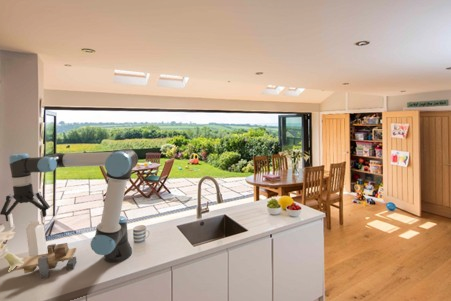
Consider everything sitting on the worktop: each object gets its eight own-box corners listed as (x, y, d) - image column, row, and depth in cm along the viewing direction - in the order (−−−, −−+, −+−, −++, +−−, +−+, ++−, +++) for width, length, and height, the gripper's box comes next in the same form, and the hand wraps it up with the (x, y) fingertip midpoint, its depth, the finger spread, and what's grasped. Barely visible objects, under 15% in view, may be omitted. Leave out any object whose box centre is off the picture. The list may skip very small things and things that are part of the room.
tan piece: (77, 256, 141) (75, 241, 140) (72, 267, 131) (70, 251, 130) (27, 266, 134) (24, 251, 133) (17, 279, 123) (14, 262, 122)
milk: (38, 254, 150) (34, 219, 147) (47, 254, 149) (43, 219, 146) (29, 259, 144) (24, 223, 141) (39, 260, 143) (34, 223, 140)
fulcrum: (57, 262, 140) (55, 243, 139) (48, 278, 126) (46, 257, 125) (50, 263, 139) (48, 245, 138) (40, 279, 125) (37, 259, 124)
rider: (68, 251, 137) (67, 242, 136) (66, 255, 132) (64, 247, 131) (58, 253, 135) (56, 244, 135) (55, 258, 131) (53, 249, 130)
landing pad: (76, 262, 140) (76, 256, 139) (73, 269, 133) (72, 263, 133) (70, 263, 139) (69, 257, 138) (67, 270, 132) (66, 264, 132)
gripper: (53, 180, 132) (58, 218, 135) (-5, 185, 124) (1, 225, 127) (49, 183, 125) (53, 223, 127) (-13, 189, 117) (-7, 231, 120)
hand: (27, 224), depth 127 cm, fingers open, 13 cm apart
